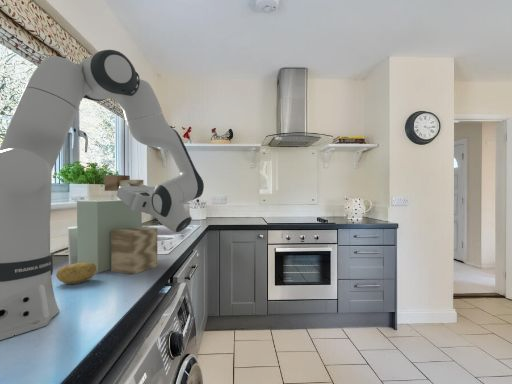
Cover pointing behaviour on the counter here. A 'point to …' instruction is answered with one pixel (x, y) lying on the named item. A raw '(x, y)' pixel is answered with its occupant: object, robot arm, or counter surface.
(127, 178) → the walnut handle block
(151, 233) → the low oak block
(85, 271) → the potato
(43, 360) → the counter surface
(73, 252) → the skincare box
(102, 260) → the large sage green box
